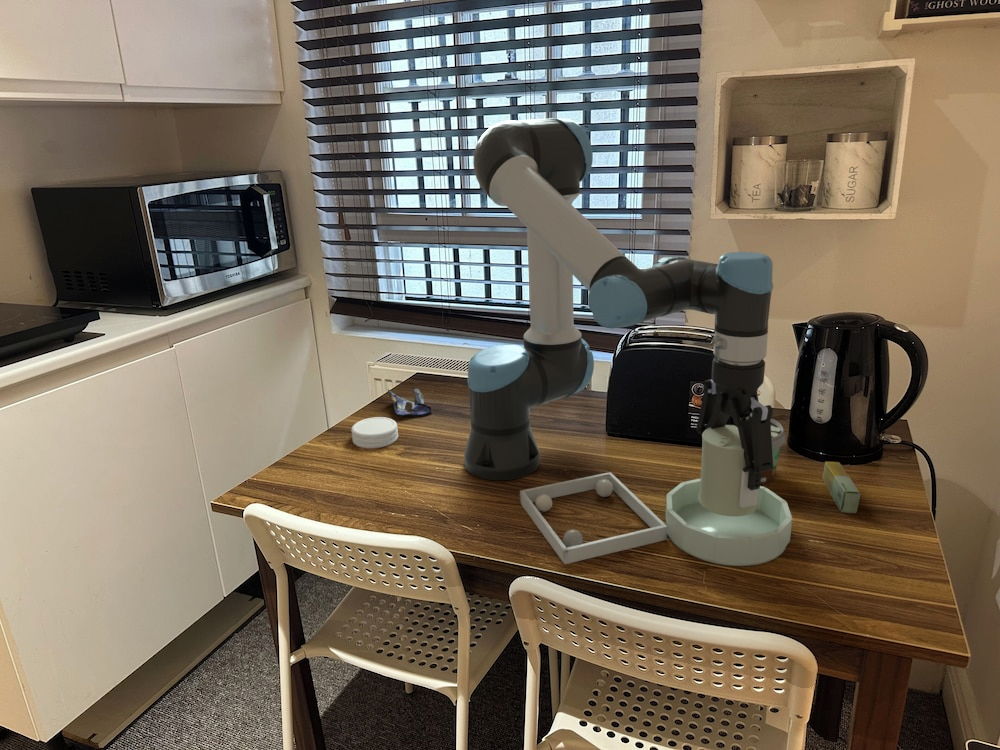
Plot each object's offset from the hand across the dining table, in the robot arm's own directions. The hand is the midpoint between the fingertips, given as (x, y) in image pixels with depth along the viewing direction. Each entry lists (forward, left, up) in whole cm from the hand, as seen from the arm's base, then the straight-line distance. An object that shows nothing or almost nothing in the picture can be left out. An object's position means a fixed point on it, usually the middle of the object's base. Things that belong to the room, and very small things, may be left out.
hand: (729, 490), depth 113 cm
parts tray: (-12, -19, -8) cm, 24 cm away
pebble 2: (-5, -25, -8) cm, 27 cm away
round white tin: (-60, -48, -8) cm, 77 cm away
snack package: (-73, -38, -8) cm, 82 cm away
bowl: (0, 0, -8) cm, 8 cm away
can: (0, 0, -2) cm, 2 cm away
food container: (-14, +18, -8) cm, 24 cm away
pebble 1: (-18, -25, -8) cm, 32 cm away
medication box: (-2, +25, -8) cm, 27 cm away
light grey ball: (-18, -13, -8) cm, 24 cm away
